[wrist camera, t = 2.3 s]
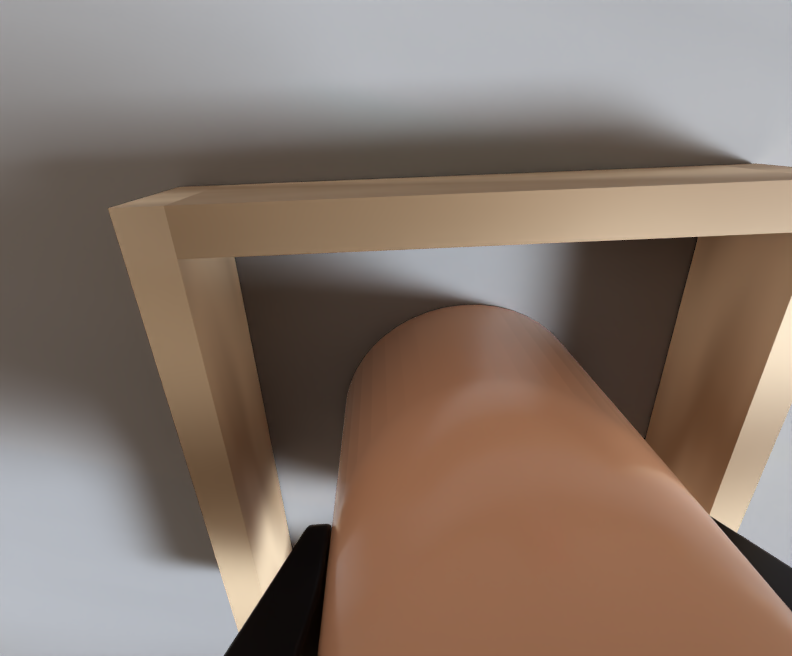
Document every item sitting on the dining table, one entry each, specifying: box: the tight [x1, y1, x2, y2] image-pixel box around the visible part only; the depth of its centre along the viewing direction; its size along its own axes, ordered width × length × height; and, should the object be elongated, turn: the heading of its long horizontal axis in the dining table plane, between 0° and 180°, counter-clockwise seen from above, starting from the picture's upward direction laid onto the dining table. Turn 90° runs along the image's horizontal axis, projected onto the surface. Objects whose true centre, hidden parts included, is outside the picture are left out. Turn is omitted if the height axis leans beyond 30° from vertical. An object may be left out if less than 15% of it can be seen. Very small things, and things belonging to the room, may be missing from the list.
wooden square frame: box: [108, 164, 792, 631], centre depth 10 cm, size 12×12×2 cm
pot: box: [317, 305, 792, 656], centre depth 7 cm, size 6×6×9 cm
